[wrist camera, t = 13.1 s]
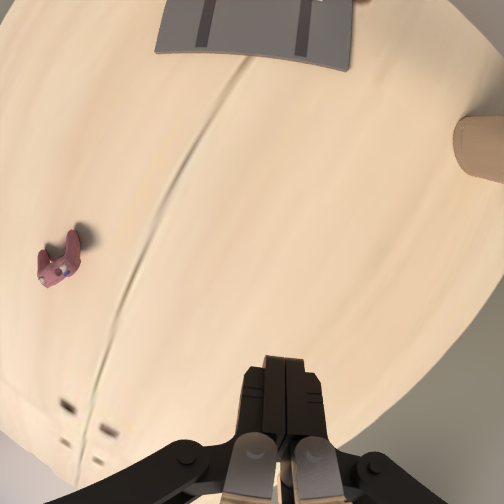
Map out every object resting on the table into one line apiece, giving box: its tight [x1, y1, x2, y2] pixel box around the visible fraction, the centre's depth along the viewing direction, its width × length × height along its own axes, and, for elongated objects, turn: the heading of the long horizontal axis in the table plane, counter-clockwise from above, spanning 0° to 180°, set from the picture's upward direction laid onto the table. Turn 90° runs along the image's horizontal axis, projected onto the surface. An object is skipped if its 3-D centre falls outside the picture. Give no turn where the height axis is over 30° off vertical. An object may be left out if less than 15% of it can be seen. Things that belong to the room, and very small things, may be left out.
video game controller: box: [37, 230, 81, 288], centre depth 36 cm, size 10×5×7 cm, turn 113°
